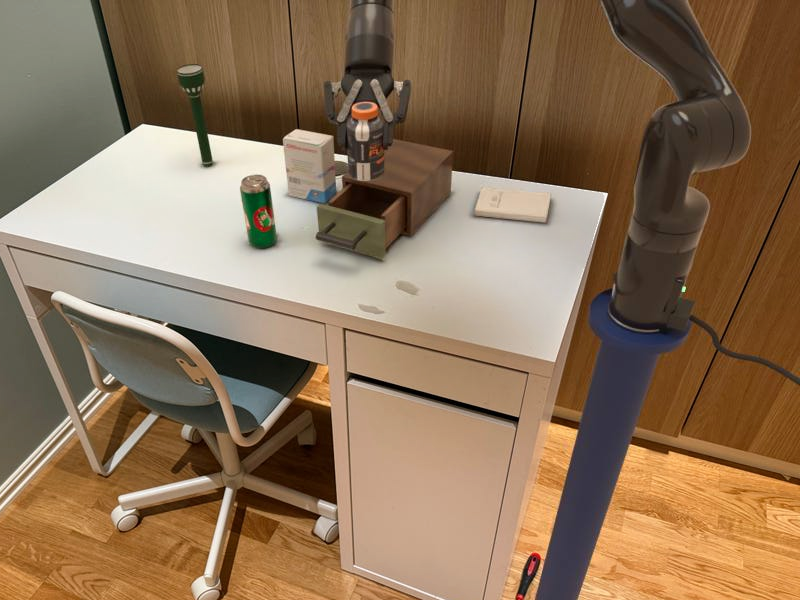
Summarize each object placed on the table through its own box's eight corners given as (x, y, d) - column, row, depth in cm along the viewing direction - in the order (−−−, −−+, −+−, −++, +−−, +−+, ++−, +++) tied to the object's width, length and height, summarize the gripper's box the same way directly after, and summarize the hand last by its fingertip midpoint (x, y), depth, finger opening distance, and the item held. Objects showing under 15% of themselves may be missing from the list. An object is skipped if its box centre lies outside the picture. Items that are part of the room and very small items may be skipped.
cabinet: (410, 237, 124) (411, 193, 118) (344, 219, 130) (341, 176, 124) (450, 193, 134) (453, 150, 128) (387, 178, 140) (386, 137, 134)
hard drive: (545, 224, 124) (474, 216, 128) (550, 200, 130) (481, 193, 133) (547, 216, 123) (474, 208, 127) (551, 192, 129) (482, 186, 132)
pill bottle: (374, 185, 113) (373, 116, 106) (341, 178, 116) (338, 111, 108) (390, 168, 117) (390, 101, 109) (358, 162, 120) (355, 95, 112)
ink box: (338, 192, 138) (334, 134, 130) (325, 204, 134) (321, 145, 127) (300, 183, 141) (295, 126, 133) (287, 195, 138) (280, 137, 130)
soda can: (252, 233, 129) (242, 173, 121) (279, 234, 128) (271, 173, 120) (246, 249, 125) (235, 188, 117) (274, 249, 124) (265, 188, 116)
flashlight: (220, 157, 152) (203, 62, 139) (219, 169, 148) (202, 72, 135) (196, 160, 152) (177, 65, 139) (195, 171, 148) (175, 75, 135)
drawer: (367, 274, 115) (366, 239, 111) (304, 255, 121) (300, 220, 116) (423, 214, 128) (424, 180, 123) (363, 199, 133) (362, 166, 128)
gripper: (416, 53, 115) (411, 156, 114) (328, 55, 117) (322, 156, 117) (415, 30, 107) (409, 140, 107) (321, 32, 110) (315, 140, 109)
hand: (364, 148), depth 112 cm, fingers closed on pill bottle, 6 cm apart
